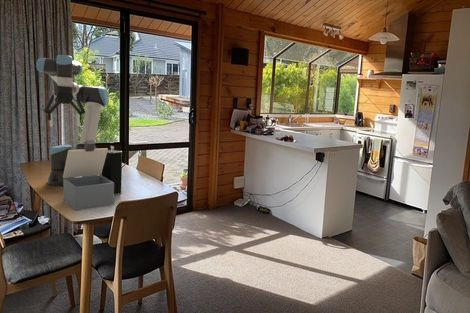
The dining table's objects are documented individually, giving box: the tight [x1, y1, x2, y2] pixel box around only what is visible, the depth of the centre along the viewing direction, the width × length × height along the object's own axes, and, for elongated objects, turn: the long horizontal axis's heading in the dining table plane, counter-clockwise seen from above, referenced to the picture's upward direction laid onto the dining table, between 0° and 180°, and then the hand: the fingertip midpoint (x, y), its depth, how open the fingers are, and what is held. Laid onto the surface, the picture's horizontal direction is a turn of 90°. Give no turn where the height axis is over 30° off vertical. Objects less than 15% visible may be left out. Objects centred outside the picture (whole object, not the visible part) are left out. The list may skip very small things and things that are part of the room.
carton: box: [62, 174, 115, 211], centre depth 196 cm, size 18×20×12 cm
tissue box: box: [101, 145, 123, 196], centre depth 214 cm, size 8×8×28 cm
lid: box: [63, 140, 109, 178], centre depth 196 cm, size 24×20×3 cm
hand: (65, 126), depth 197 cm, fingers open, 13 cm apart
